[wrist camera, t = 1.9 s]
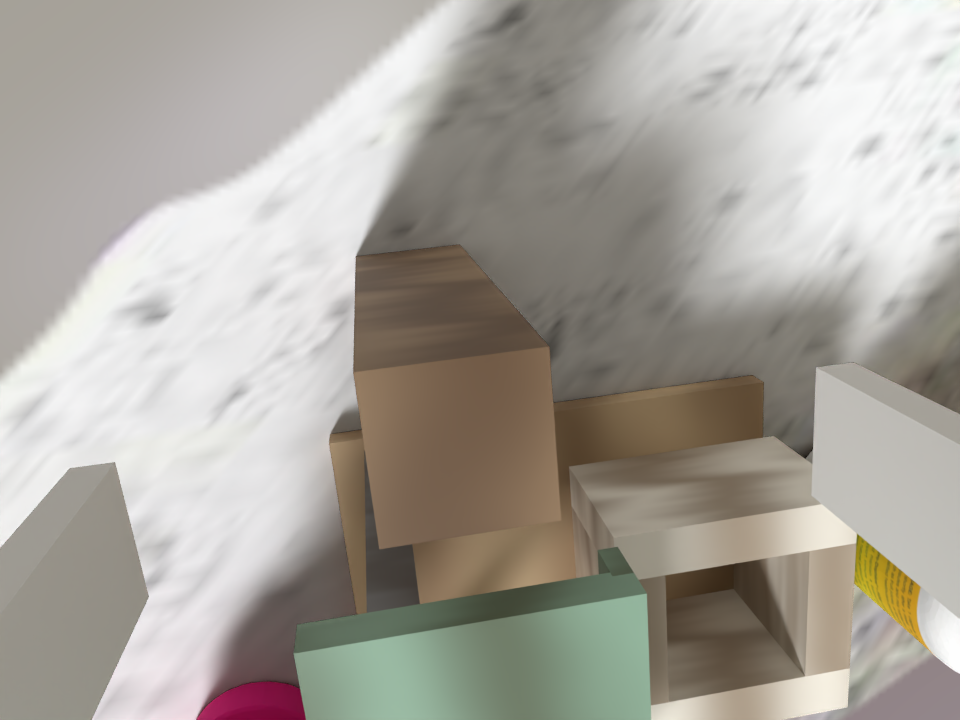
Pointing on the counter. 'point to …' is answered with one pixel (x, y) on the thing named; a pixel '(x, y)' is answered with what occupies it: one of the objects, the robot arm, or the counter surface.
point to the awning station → (605, 582)
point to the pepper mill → (257, 703)
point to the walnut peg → (450, 400)
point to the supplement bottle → (907, 602)
